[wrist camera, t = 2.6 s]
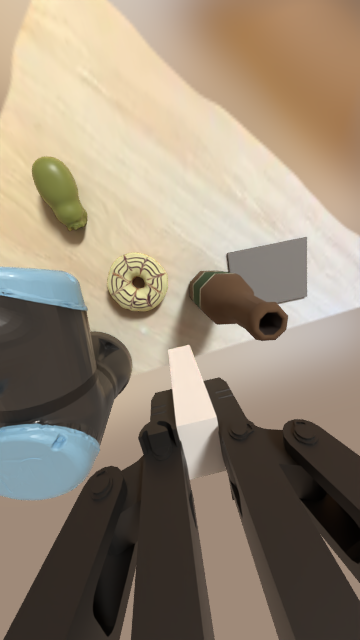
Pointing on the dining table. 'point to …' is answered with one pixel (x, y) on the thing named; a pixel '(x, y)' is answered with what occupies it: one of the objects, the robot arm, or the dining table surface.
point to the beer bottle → (237, 304)
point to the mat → (273, 269)
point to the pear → (59, 191)
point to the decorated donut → (125, 274)
